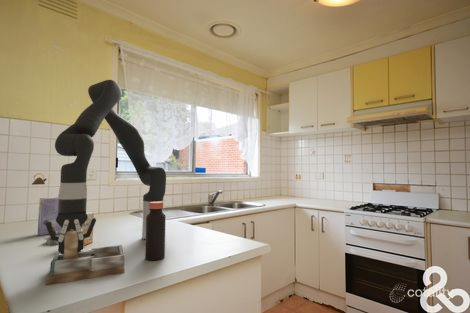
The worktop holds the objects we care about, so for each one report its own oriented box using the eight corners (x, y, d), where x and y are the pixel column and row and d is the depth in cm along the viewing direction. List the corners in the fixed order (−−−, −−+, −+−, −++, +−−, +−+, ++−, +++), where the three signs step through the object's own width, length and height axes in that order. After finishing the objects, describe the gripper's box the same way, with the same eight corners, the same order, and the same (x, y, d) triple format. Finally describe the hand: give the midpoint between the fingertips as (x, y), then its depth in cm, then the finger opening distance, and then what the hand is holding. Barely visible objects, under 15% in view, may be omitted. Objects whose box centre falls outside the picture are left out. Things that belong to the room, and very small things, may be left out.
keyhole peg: (83, 261, 86) (84, 227, 86) (81, 267, 80) (83, 231, 81) (59, 264, 83) (61, 229, 83) (56, 271, 77) (58, 233, 78)
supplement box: (78, 248, 106) (79, 215, 107) (68, 247, 107) (69, 215, 108) (93, 242, 114) (94, 212, 115) (83, 242, 115) (84, 211, 116)
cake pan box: (78, 227, 143) (79, 195, 144) (83, 228, 140) (84, 195, 141) (36, 234, 128) (38, 198, 129) (40, 236, 125) (42, 198, 126)
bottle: (154, 262, 90) (155, 203, 91) (141, 258, 94) (142, 202, 95) (168, 256, 96) (169, 201, 97) (156, 253, 100) (157, 200, 101)
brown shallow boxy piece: (121, 257, 95) (121, 243, 96) (124, 272, 81) (124, 256, 81) (54, 265, 86) (55, 251, 87) (45, 285, 72) (46, 267, 72)
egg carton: (58, 238, 121) (59, 229, 121) (75, 238, 121) (75, 229, 122) (42, 245, 111) (43, 235, 111) (60, 245, 111) (61, 235, 111)
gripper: (98, 195, 89) (96, 246, 88) (47, 196, 83) (45, 252, 82) (98, 197, 82) (96, 252, 82) (43, 199, 76) (40, 259, 75)
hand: (70, 252), depth 82 cm, fingers closed on keyhole peg, 4 cm apart
